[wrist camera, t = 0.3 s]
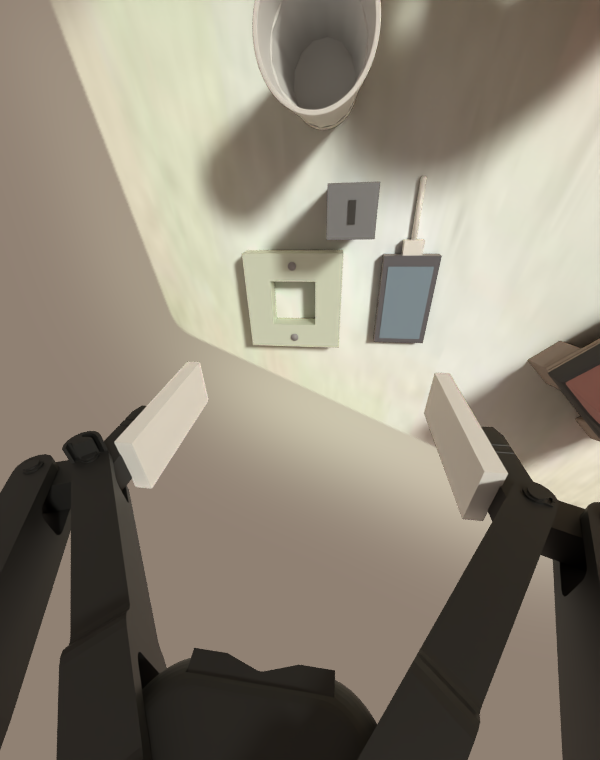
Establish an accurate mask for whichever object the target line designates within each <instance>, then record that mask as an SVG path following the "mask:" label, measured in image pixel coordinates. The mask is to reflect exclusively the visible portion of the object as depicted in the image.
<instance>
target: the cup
mask: <svg viewBox="0 0 600 760" xmlns="http://www.w3.org/2000/svg"><path fill="white" fill-rule="evenodd" d="M380 26H381V1H380V0H255V3H254V10H253V43H254V50H255V55H256V59H257V63H258V66H259V69H260V72H261V74H262V77H263V79H264V81H265V83H266V85H267V86H268V88H269V90H270V91H271V92H272V94H273V95H274V96H275V97H276V99H277V100H278V101H279V102H280V103H282V104H283V105H284V106H285V107H287V108H288V109H290V110H291V111H293V112H294V113H296V114H297V115H298V116H299V117H301V118H302V119H303V120H304V121H305V122H306V123H307V124H308V125H309V126H311V127H313V128H315V129H319V130H327V129H331V128H334V127H336V126H337V125H339V124H340V123H341V122H343V121H344V120H345V119H346V117H347V116H348V115H349V113H350V112H351V110H352V108H353V106H354V103H355V100H356V97H357V93H358V91H359V89H360V87H361V85H362V83H363V81H364V80H365V78H366V76H367V74H368V72H369V69H370V67H371V65H372V62H373V59H374V56H375V53H376V49H377V45H378V40H379V35H380Z"/></svg>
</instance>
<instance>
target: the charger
mask: <svg viewBox="0 0 600 760" xmlns="http://www.w3.org/2000/svg"><path fill="white" fill-rule="evenodd" d="M379 189H380V182H357V183H328V194H327V240H350V239H375V229H376V219H377V209H378V199H379Z"/></svg>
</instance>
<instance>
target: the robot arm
mask: <svg viewBox="0 0 600 760" xmlns="http://www.w3.org/2000/svg"><path fill="white" fill-rule="evenodd" d="M207 402H208V395H207V391H206V387H205V382H204V378H203V374H202V369H201V365H200V362H187V363H186V364H185V365H184V366H183V367H182V368H181V369H180V370H179V371H178V373H177V374H176V375H175V376H174V377H173V378H172V379H171V380H170V381H169V382H168V384H167V385H166V386H165V387H164V388H163V389H162V390H161V391H160V392H159V393H158V394H157V396H156V397H155V398H154V399H153V400H152V401H151V402H150V403H149V404H148V405H147V406H141V407H139V408H138V409H136V410H134V411H133V412H131V414H130V415H129V416H128V417H127V418H126V419H125V421H123V422H122V423H121V424H120V426H118V427H117V428H116V430H114V431H113V432H112V433H111V435H110V436H109V437H108V438H107V439H106V440H105V441H103V439H102V437H101V435H100V434H99V433H98V432H96V431H87V432H83V433H80V434H78V435H76V436H74V437H72V438H71V439H69V440H68V441H67V442H66V443H65V444H64V445H63V448H62V450H63V451H64V453H65V455H66V456H67V458H68V459H69V460H67V461H61V462H55V461H54V459H53V458H52V457H51V456H50V455H46V454H44V455H38V456H35V457H32V458H29V459H27V460H25V461H24V462H22V463H21V464H20V465H18V466H17V467H16V468H15V470H14V471H13V472H12V474H11V476H10V477H9V479H8V481H7V482H6V484H5V486H4V488H3V489H2V491H1V493H0V749H1V746H2V743H3V740H4V737H5V735H6V732H7V729H8V726H9V723H10V720H11V717H12V714H13V711H14V708H15V705H16V702H17V698H18V695H19V692H20V689H21V686H22V683H23V679H24V676H25V673H26V670H27V667H28V664H29V660H30V657H31V654H32V651H33V648H34V644H35V641H36V638H37V635H38V632H39V629H40V626H41V622H42V619H43V616H44V613H45V610H46V607H47V603H48V600H49V597H50V594H51V591H52V588H53V584H54V581H55V578H56V575H57V572H58V568H59V565H60V562H61V559H62V556H63V553H64V550H65V546H66V543H67V540H68V537H69V534H70V531H71V637H70V643H69V646H67V647H66V648H65V649H64V650H63V651H62V654H61V657H60V665H59V693H58V729H57V760H468V757H469V754H470V752H471V749H472V746H473V744H474V741H475V738H476V735H477V732H478V729H479V724H480V715H479V714H480V710H481V707H482V704H483V701H484V699H485V696H486V694H487V691H488V688H489V686H490V683H491V681H492V678H493V676H494V673H495V670H496V668H497V665H498V663H499V660H500V658H501V655H502V652H503V650H504V647H505V645H506V642H507V640H508V637H509V634H510V632H511V629H512V627H513V624H514V621H515V619H516V616H517V614H518V611H519V609H520V606H521V603H522V601H523V598H524V596H525V593H526V591H527V588H528V586H529V583H530V580H531V578H532V575H533V573H534V570H535V568H536V565H537V562H538V560H539V557H540V555H543V556H545V557H548V558H551V559H553V570H554V571H553V572H554V593H555V613H556V633H557V653H558V674H559V694H560V715H561V733H562V754H563V760H600V502H593V503H591V504H590V505H588V507H587V508H586V509H583V508H580V507H577V506H574V505H570V504H567V503H564V502H561V501H559V500H557V498H556V497H555V495H554V494H553V493H552V492H551V491H550V490H548V489H547V488H545V487H544V486H542V485H541V484H538V483H535V482H533V481H532V479H531V478H530V476H529V475H528V473H527V472H526V470H525V469H524V467H523V465H522V464H521V462H520V461H519V459H518V458H517V456H516V455H515V454H514V452H513V450H512V449H511V447H509V444H508V442H507V441H506V439H505V438H504V436H503V435H502V434H500V433H499V432H498V431H497V430H496V429H494V428H493V427H481V426H480V424H479V423H478V421H477V419H476V417H475V416H474V414H473V412H472V411H471V409H470V407H469V405H468V404H467V402H466V400H465V399H464V397H463V395H462V393H461V392H460V390H459V388H458V387H457V385H456V383H455V381H454V380H453V378H452V376H451V374H450V373H435V374H434V378H433V381H432V385H431V389H430V393H429V397H428V400H427V404H426V408H425V412H424V414H425V417H426V420H427V423H428V425H429V428H430V431H431V434H432V436H433V439H434V442H435V445H436V447H437V450H438V453H439V456H440V458H441V461H442V464H443V467H444V470H445V472H446V475H447V478H448V481H449V483H450V486H451V489H452V492H453V494H454V497H455V500H456V503H457V505H458V508H459V511H460V514H461V517H462V519H468V520H478V521H483V520H484V518H485V516H486V514H487V512H488V513H489V514H490V517H491V519H492V524H491V525H490V527H489V529H488V531H487V532H486V534H485V536H484V538H483V539H482V541H481V543H480V545H479V546H478V549H477V550H476V552H475V554H474V555H473V557H472V559H471V561H470V562H469V564H468V566H467V568H466V569H465V571H464V573H463V575H462V576H461V578H460V580H459V582H458V583H457V585H456V587H455V589H454V591H453V593H452V594H451V596H450V598H449V599H448V601H447V603H446V605H445V606H444V608H443V610H442V612H441V613H440V615H439V617H438V619H437V621H436V622H435V624H434V626H433V628H432V629H431V631H430V633H429V635H428V636H427V638H426V640H425V642H424V643H423V645H422V647H421V649H420V650H419V652H418V654H417V656H416V657H415V659H414V661H413V663H412V664H411V667H410V668H409V670H408V672H407V673H406V675H405V677H404V679H403V680H402V682H401V684H400V686H399V687H398V689H397V691H396V693H395V695H394V696H393V698H392V700H391V701H390V704H389V705H388V707H387V709H386V710H385V712H384V714H383V716H382V717H381V719H380V721H379V723H378V724H377V723H376V722H375V720H374V718H373V717H372V715H371V714H370V712H369V711H368V709H367V708H366V706H365V705H364V704H363V703H362V702H361V700H360V699H359V698H358V697H357V696H356V695H355V694H354V693H353V692H352V691H351V690H350V689H348V688H347V687H346V686H344V685H343V684H341V683H340V682H338V681H336V680H335V671H334V670H328V669H322V668H316V667H310V666H304V665H295V666H290V667H285V668H281V669H275V670H270V671H264V672H260V671H257V670H256V669H254V668H252V667H250V666H248V665H247V664H245V663H243V662H242V661H240V660H238V659H236V658H235V657H233V656H231V655H230V654H228V653H223V652H217V651H210V650H204V649H198V648H194V651H193V654H192V657H191V658H189V659H186V660H183V661H180V662H178V663H176V664H174V665H172V666H170V667H169V668H166V664H165V661H164V658H163V655H162V653H161V650H160V647H159V643H158V639H157V634H156V629H155V624H154V618H153V613H152V608H151V603H150V598H149V592H148V587H147V582H146V577H145V572H144V566H143V561H142V556H141V551H140V546H139V540H138V535H137V531H136V525H135V520H134V515H133V509H132V504H131V499H130V494H129V489H128V488H127V486H126V485H127V484H128V483H129V481H130V480H131V479H132V480H133V482H134V484H135V486H136V487H142V488H153V486H154V484H155V483H156V481H157V480H158V478H159V477H160V475H161V474H162V472H163V470H164V469H165V467H166V466H167V464H168V463H169V461H170V460H171V458H172V457H173V455H174V453H175V452H176V450H177V449H178V447H179V445H180V444H181V442H182V441H183V439H184V438H185V436H186V435H187V433H188V431H189V430H190V428H191V427H192V425H193V424H194V422H195V421H196V419H197V418H198V416H199V414H200V413H201V411H202V409H203V408H204V407H205V405H206V403H207Z"/></svg>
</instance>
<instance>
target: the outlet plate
mask: <svg viewBox="0 0 600 760" xmlns="http://www.w3.org/2000/svg"><path fill="white" fill-rule="evenodd" d="M242 259H243V267H244V276H245V284H246V292H247V300H248V308H249V316H250V325H251V333H252V341H253V345H269V346H300V347H332V348H339V328H340V308H341V288H342V268H343V250H249V251H246V252H244V253H243V254H242ZM274 281H277V282H315V318H277V312H276V298H275V283H274Z"/></svg>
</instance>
